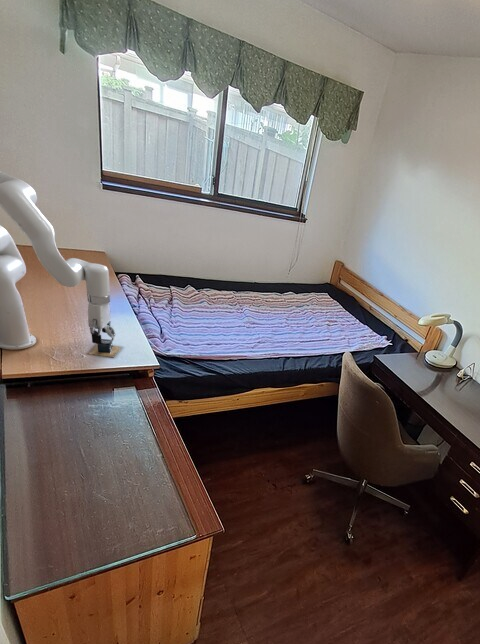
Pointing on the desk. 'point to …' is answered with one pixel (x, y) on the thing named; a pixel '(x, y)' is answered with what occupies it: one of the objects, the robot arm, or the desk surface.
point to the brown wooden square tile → (95, 352)
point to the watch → (106, 343)
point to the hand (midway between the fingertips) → (101, 337)
